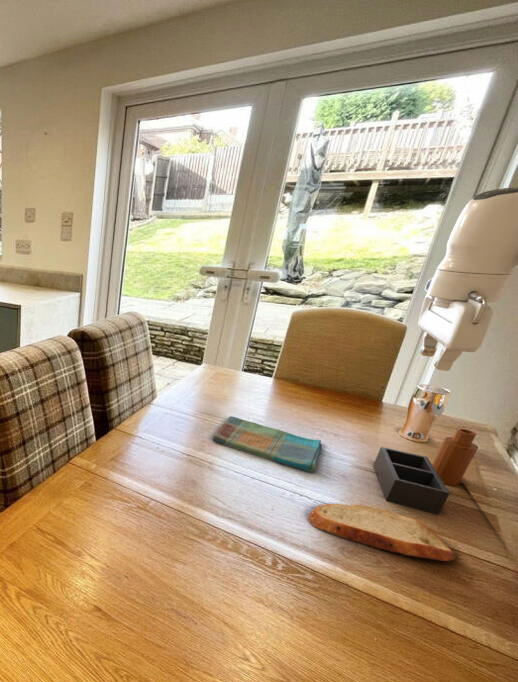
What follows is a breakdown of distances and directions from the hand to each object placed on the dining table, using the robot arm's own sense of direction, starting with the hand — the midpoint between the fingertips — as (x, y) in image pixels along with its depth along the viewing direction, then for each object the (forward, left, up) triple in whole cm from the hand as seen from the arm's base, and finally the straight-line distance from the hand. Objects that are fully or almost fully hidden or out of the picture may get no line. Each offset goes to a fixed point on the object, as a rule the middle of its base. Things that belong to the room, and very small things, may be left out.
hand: (433, 362), depth 75 cm
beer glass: (-15, -42, -33) cm, 55 cm away
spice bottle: (-16, -19, -32) cm, 41 cm away
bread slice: (+1, +14, -33) cm, 35 cm away
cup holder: (-7, -9, -32) cm, 34 cm away
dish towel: (+21, -14, -33) cm, 41 cm away
